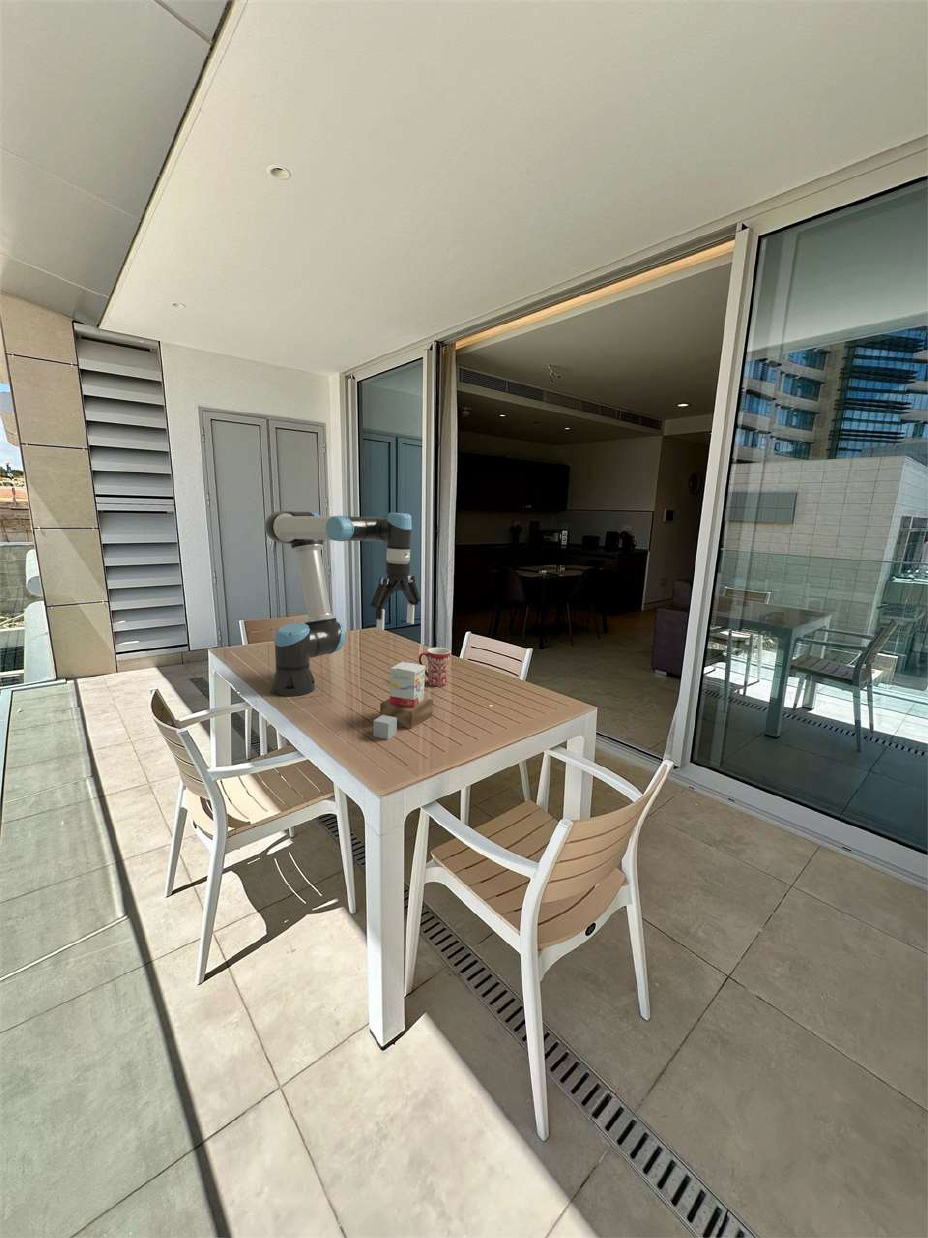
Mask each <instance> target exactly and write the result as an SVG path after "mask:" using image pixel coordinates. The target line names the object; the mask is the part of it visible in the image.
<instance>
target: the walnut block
mask: <svg viewBox="0 0 928 1238" xmlns="http://www.w3.org/2000/svg"><path fill="white" fill-rule="evenodd" d="M433 703H434V699H430V698H428V697H427V698H426V697H424V699H423V700H422V701H421V702H420V703H418V704H417V705H416V706H415V707H414V708H413V707H407V706H401V705H395V704H390V698H388V699H386V700H384V701H382V702H381V703H380V704H379V706H380V707H379V713H380V714H379V717H380V716H381V715H386V716H391V717H396V718H397V726H400V727H404V728H407V729H411V730H412V729H414V728H415V727H417V726H418V725H421V724H422V723H424V722H426V721H427V720H429V719H430V718H432V717H433V710H434V709H433V708H434V707H433V705H434V704H433Z"/></svg>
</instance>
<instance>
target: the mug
mask: <svg viewBox="0 0 928 1238" xmlns="http://www.w3.org/2000/svg"><path fill="white" fill-rule="evenodd" d="M423 656H426V659H427V670H426V669H425V677H426V678H427V684H428V685H429V686H432V687H437V688H441V687H445V686H447V684H448V676H449V668H450V667H449V666H450V657H451V650H450V649H448V648H444V647H431V648H428V649H427V651H426V652H421V653H420V654H419V655H418V664H419V665H424V664H423V663H422V662H423V661H422V657H423Z"/></svg>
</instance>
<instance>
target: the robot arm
mask: <svg viewBox="0 0 928 1238" xmlns="http://www.w3.org/2000/svg"><path fill="white" fill-rule="evenodd" d="M412 529H413V527H412V516H411V514H409V513H402V512H389V513H388V514H387V518H384V517H377V516H349V515H348V516H347V515H346V516H345V515H334V516H331V515H330V516H327V515H326V516H325V515H323V516H321V515H320V514H319V513H315V512H310V511H290V510H289V511H287V510H280V511H275V512H273V513H271V514H269V515H268V516H267V518H266V519H265V522H264V531H265V533H266V535H267V536H268V537H269V539H270V540H272V541H273V542H275V543H278V544H285V545H286V544H287V545H290V548H291V551H292V552H293V553H296V556H297V563H298V568H299V573H300V579H301V580H300V581H301V585H302V591H303V597H304V603H305V608H306V614H307V618H306V619H305V621H304V623H301V622H300V623H299V622H297V623H290V624H285V625H282V626H281V627H279V628H278V629H277V630H276V631H275V632H274V642H273V643H274V651H275V652H274V653H275V655H274V656H275V657H274V659H275V670H274V671H275V672H274V674H273V678H272V681H271V683H270V689H271V690H270V691H271V693H273V694H275V695H276V696H277V695H278V696H282V697H297V696H303V695H306V694H310V693H312V692H313V691H314V690H315V689H316V681H315V678H314V675H313V673H312V670H311V665H310V659H313V658H316V657H321V656H325V655H332V654H333V653H336V652H339V651H340V650H342V648H343V646H344V644H345V642H346V635H347V634H346V630H345V627H344V625H343V624H342V623H340V622H339V621H338V620H337V617H336V615H334V614H333V613H332V610H331V606H330V605H331V604H330V599H329V594H328V589H327V588H328V587H327V581H326V577H325V576H326V574H325V570H324V566H323V559H322V553H321V551H322V549H323V547H324V546H325V545H324V542H325V541H336V542H352V541H353V542H357V541H358V542H362V541H364V542H367V541H368V542H369V541H371V542H373V541H374V542H375V541H377V542H385V543H386V557H385V558H386V561H387V562H386V563H385V573H386V574H387V577H379V578H378V579H379V580H378V585H377V587H376V590H375V593H374V596H373V598H372V601H371V603H370V607H371V608H373V609H375V619H376V629H377V630H378V629H379V630H382V631H384V630H385V614H386V613H385V609H384V607H385V605H386V604H387V602H388V601H389V599H390V597H392V594H394V593H395V592H399V591H401V592H402V594H403V595H404V596H405V598H406V600H407V601H408V603H407V605H406V608H407V609H406V624H411V625H414V624H415V613H416V606H418V605H419V603H420V602H421V598H420V594H419V590H418V587H417V585H416V580H415V579H416V577H415V575H410V572H411V571H410V563H409V562H410V561H411V541H412V540H411V539H412Z"/></svg>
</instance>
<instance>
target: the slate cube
mask: <svg viewBox="0 0 928 1238" xmlns="http://www.w3.org/2000/svg"><path fill="white" fill-rule="evenodd" d="M372 723H373V728H372V730H373V732H372V736H373V737H376V738H379V739H383V740H387V741H389V740H390V739H391V738H392V737H394V736H395V735H396V734H397V733H398V730H397V729H398V725H397V718H396V717H391V716H386V715H381V716H380V715H379V716H377V718H375V719H374V720H373V722H372Z"/></svg>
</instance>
